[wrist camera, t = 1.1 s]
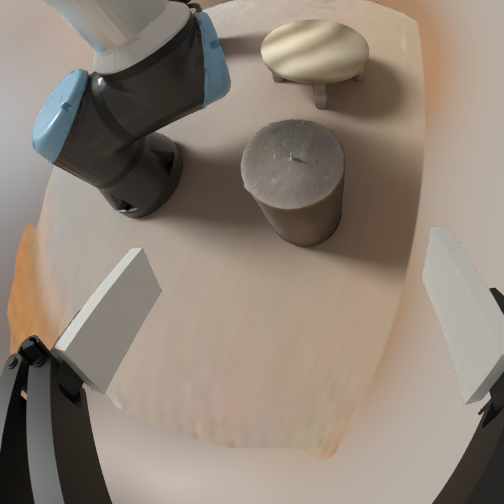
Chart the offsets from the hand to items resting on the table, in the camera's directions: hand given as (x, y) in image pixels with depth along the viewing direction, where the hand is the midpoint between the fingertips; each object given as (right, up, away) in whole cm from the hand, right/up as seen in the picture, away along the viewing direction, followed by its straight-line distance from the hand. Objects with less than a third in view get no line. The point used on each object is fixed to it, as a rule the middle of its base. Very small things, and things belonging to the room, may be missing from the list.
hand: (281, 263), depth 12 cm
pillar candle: (+6, +6, +25) cm, 26 cm away
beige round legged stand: (+10, +31, +29) cm, 43 cm away
